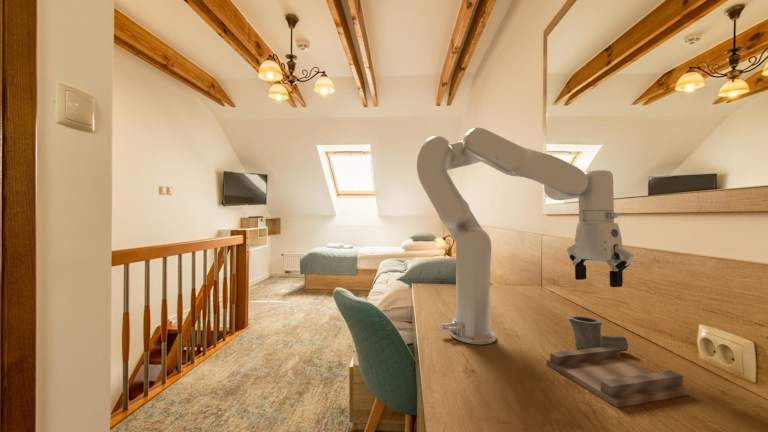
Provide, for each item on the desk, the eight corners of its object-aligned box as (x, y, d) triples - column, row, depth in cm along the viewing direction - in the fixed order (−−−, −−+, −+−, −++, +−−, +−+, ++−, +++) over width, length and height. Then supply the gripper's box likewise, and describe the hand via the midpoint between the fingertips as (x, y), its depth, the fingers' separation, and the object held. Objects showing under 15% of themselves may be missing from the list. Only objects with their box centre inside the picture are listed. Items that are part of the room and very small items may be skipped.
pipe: (632, 358, 72) (631, 325, 72) (574, 352, 74) (574, 321, 74) (617, 347, 78) (617, 317, 78) (564, 343, 80) (564, 314, 80)
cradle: (616, 407, 52) (616, 389, 52) (546, 364, 68) (546, 350, 68) (689, 394, 56) (689, 378, 56) (607, 357, 72) (607, 344, 72)
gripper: (642, 217, 69) (644, 289, 69) (578, 218, 86) (579, 276, 85) (618, 217, 67) (620, 291, 67) (557, 218, 84) (558, 277, 84)
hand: (597, 282), depth 76 cm, fingers open, 9 cm apart
